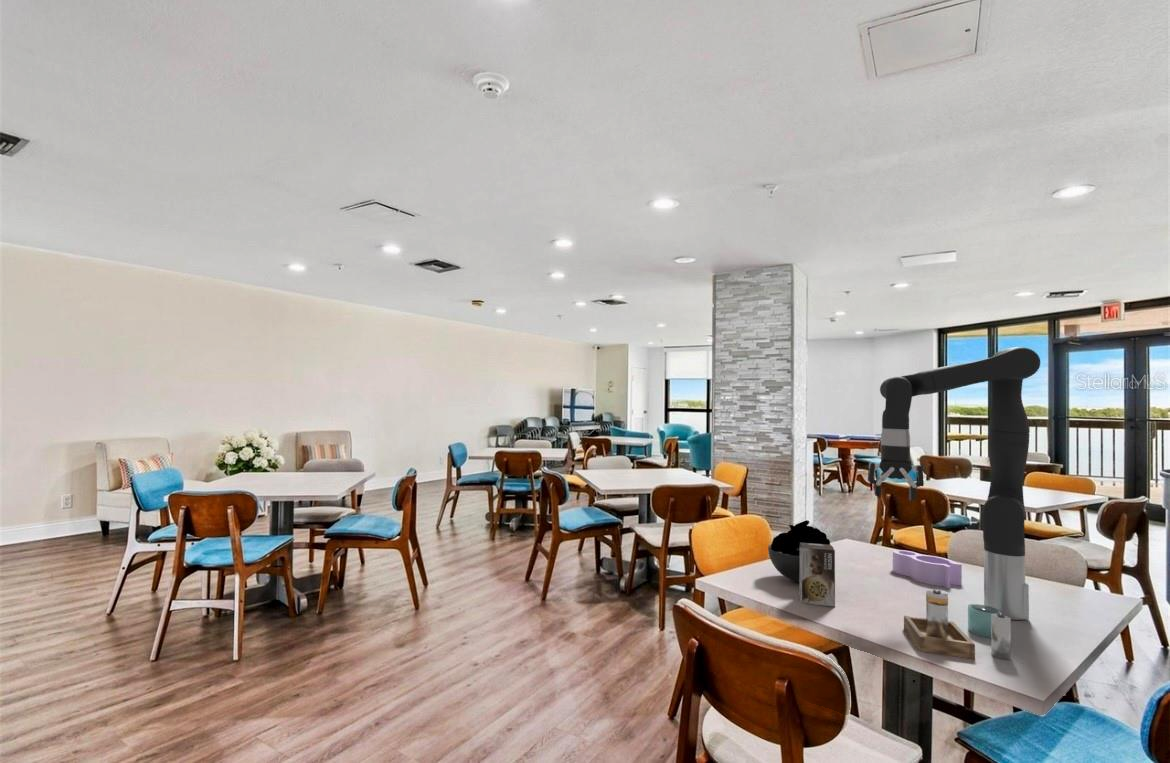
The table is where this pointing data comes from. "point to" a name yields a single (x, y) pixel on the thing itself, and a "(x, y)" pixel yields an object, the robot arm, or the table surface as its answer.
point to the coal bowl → (793, 548)
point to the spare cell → (1001, 636)
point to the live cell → (936, 614)
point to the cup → (980, 619)
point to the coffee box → (817, 574)
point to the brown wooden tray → (939, 639)
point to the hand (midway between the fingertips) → (895, 499)
